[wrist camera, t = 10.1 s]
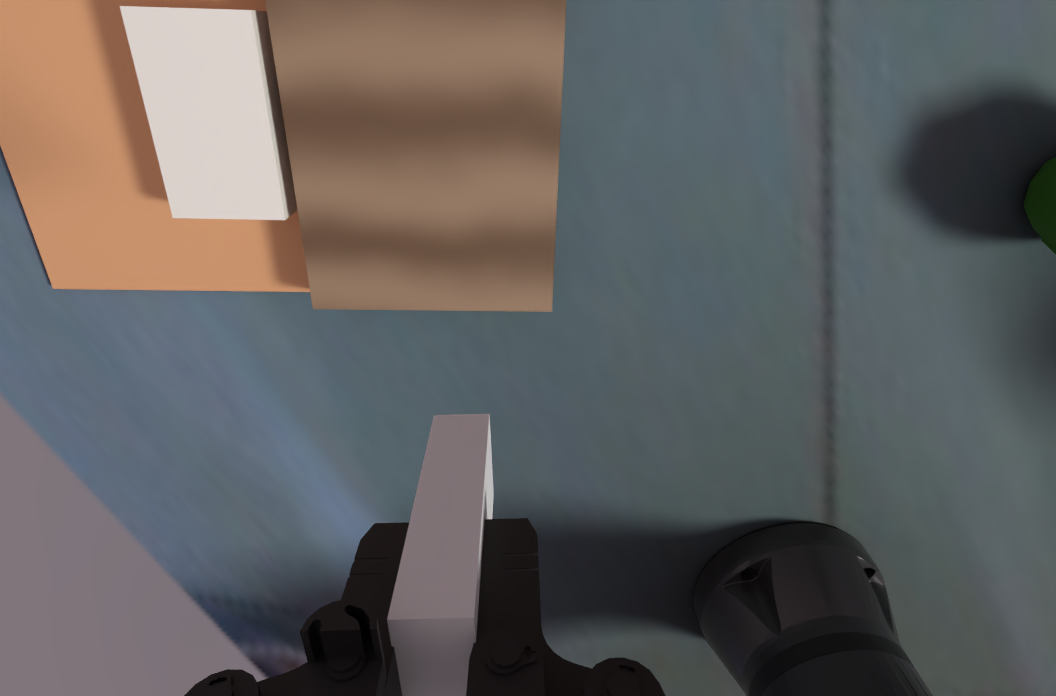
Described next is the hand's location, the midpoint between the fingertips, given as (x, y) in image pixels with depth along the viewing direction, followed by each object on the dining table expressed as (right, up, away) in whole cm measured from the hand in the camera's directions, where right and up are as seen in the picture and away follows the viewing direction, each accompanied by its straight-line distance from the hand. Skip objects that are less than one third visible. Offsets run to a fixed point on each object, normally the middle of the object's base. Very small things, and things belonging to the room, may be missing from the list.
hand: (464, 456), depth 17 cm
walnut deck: (-4, +15, +17) cm, 23 cm away
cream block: (-14, +16, +16) cm, 26 cm away
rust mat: (-19, +16, +16) cm, 30 cm away
